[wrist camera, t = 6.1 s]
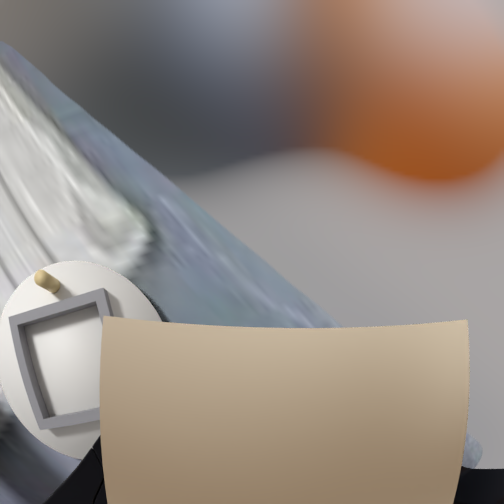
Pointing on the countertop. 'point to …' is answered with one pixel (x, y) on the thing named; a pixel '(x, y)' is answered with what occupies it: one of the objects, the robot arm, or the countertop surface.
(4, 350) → the locating plate
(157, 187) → the countertop surface
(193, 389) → the birch block
